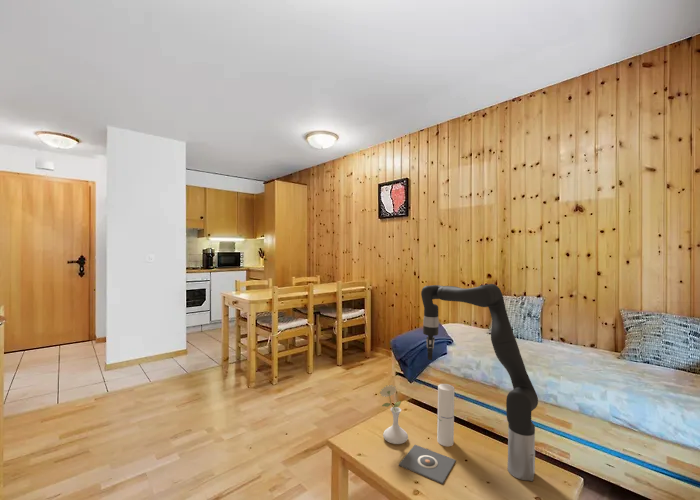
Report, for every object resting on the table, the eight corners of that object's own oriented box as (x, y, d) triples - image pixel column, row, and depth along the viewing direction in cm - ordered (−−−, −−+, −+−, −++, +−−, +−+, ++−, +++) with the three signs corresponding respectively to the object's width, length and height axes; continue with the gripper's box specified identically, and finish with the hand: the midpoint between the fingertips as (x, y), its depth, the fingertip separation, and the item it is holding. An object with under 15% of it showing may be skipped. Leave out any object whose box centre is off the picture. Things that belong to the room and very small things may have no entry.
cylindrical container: (450, 448, 146) (451, 392, 145) (434, 442, 150) (435, 387, 150) (455, 440, 151) (456, 386, 151) (440, 435, 156) (441, 382, 155)
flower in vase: (407, 433, 157) (407, 380, 157) (409, 447, 146) (409, 391, 145) (379, 431, 159) (380, 379, 158) (379, 445, 147) (379, 389, 147)
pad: (455, 461, 137) (455, 458, 137) (442, 484, 124) (442, 481, 124) (414, 445, 147) (414, 443, 147) (398, 465, 134) (398, 463, 134)
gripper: (438, 329, 160) (437, 362, 160) (438, 322, 174) (437, 353, 174) (422, 327, 162) (421, 360, 162) (423, 321, 176) (423, 351, 176)
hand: (430, 356), depth 168 cm, fingers open, 7 cm apart
